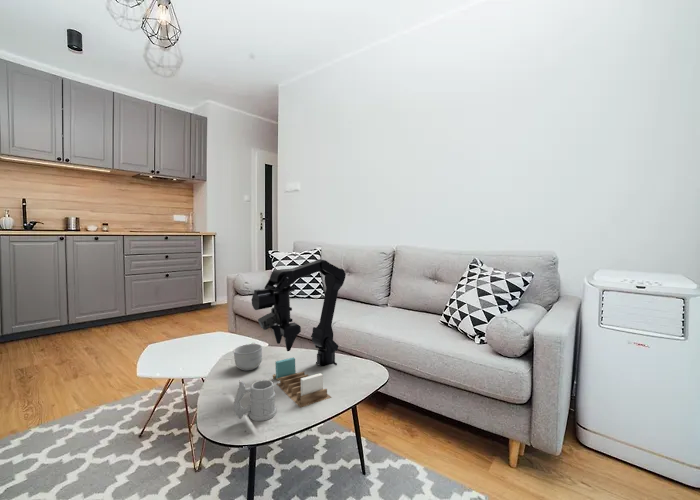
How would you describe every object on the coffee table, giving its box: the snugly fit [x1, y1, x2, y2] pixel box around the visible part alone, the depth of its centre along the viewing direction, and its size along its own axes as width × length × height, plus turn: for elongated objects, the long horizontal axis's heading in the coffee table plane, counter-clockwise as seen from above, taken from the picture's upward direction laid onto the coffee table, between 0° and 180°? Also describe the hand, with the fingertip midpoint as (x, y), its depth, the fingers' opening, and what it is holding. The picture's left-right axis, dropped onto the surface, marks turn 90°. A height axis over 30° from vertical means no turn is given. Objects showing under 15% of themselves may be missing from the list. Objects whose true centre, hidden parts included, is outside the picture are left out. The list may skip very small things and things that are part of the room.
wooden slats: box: [272, 372, 297, 382], centre depth 124 cm, size 8×5×2 cm, turn 124°
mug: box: [232, 379, 277, 422], centre depth 97 cm, size 8×12×12 cm, turn 112°
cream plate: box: [301, 372, 324, 396], centre depth 107 cm, size 7×2×7 cm, turn 124°
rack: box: [276, 371, 333, 409], centre depth 112 cm, size 11×19×4 cm, turn 34°
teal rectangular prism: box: [275, 357, 296, 378], centre depth 124 cm, size 7×2×7 cm, turn 124°
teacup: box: [232, 342, 263, 371], centre depth 136 cm, size 14×11×8 cm
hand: (283, 347), depth 123 cm, fingers open, 9 cm apart
